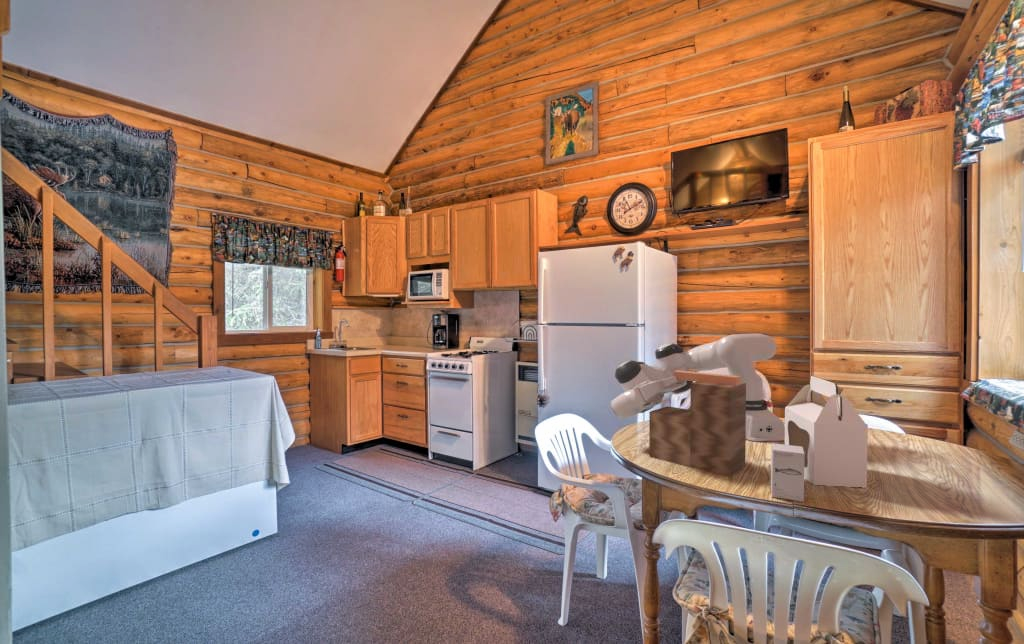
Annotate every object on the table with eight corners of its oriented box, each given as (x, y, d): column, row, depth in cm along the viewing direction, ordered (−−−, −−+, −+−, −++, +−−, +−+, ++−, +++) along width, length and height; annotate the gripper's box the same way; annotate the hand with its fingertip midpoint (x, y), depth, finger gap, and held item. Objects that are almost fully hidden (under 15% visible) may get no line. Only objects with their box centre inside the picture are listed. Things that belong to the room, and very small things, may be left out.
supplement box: (771, 497, 123) (771, 449, 123) (770, 488, 130) (771, 442, 129) (804, 503, 120) (805, 453, 119) (802, 492, 126) (802, 445, 126)
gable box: (867, 489, 128) (869, 386, 128) (813, 486, 131) (815, 384, 130) (829, 462, 150) (830, 374, 149) (784, 460, 153) (784, 373, 152)
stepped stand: (745, 466, 147) (745, 382, 146) (729, 476, 139) (730, 387, 138) (667, 449, 166) (667, 374, 165) (649, 456, 157) (649, 378, 157)
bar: (740, 384, 143) (740, 376, 143) (736, 385, 141) (736, 377, 141) (677, 377, 158) (677, 370, 158) (672, 379, 155) (672, 371, 155)
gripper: (669, 397, 169) (702, 381, 160) (638, 406, 155) (673, 389, 146) (661, 381, 171) (693, 365, 162) (630, 388, 157) (664, 370, 148)
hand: (683, 376), depth 154 cm, fingers open, 8 cm apart
